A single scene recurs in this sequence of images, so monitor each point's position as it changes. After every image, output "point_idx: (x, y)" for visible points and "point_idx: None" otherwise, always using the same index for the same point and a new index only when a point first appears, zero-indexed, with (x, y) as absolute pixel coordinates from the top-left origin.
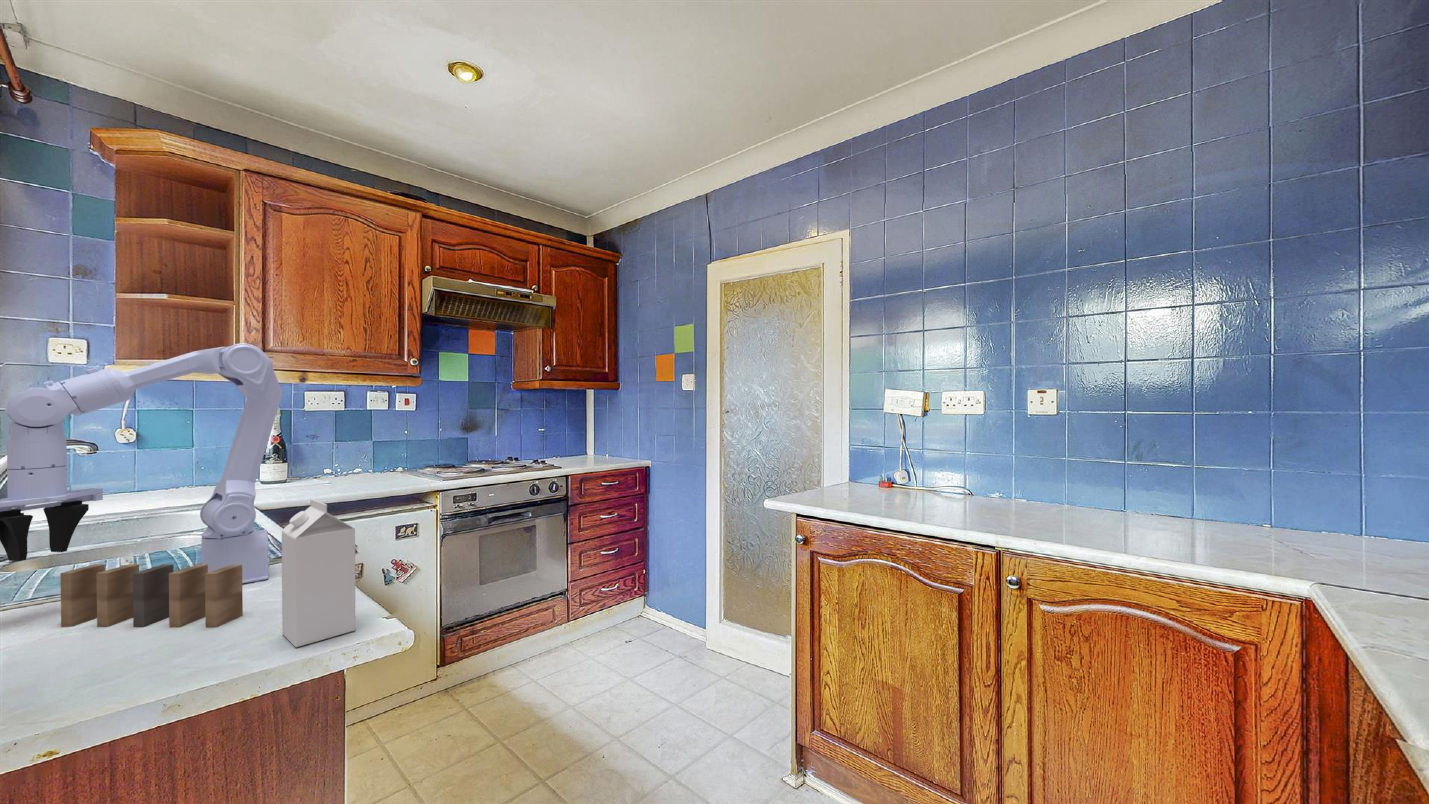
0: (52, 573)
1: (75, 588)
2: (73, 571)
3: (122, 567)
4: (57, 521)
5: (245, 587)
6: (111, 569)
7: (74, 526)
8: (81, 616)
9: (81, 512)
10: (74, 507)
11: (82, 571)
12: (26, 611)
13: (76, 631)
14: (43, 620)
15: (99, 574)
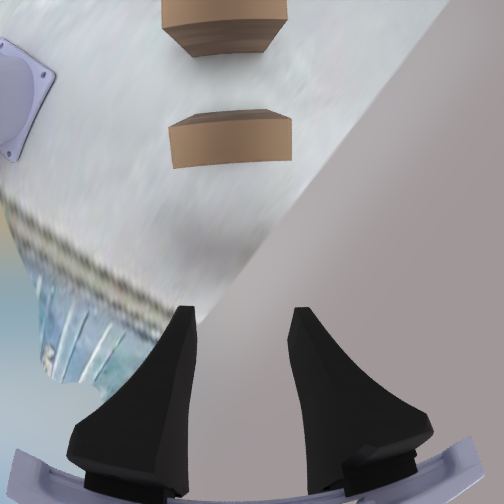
0: (104, 397)
1: (268, 114)
2: (271, 132)
3: (207, 3)
4: (179, 428)
5: (33, 24)
6: (234, 16)
7: (144, 372)
8: (247, 110)
9: (106, 426)
10: (142, 469)
11: (250, 119)
12: (202, 296)
13: (289, 69)
14: (237, 214)
15: (284, 12)
